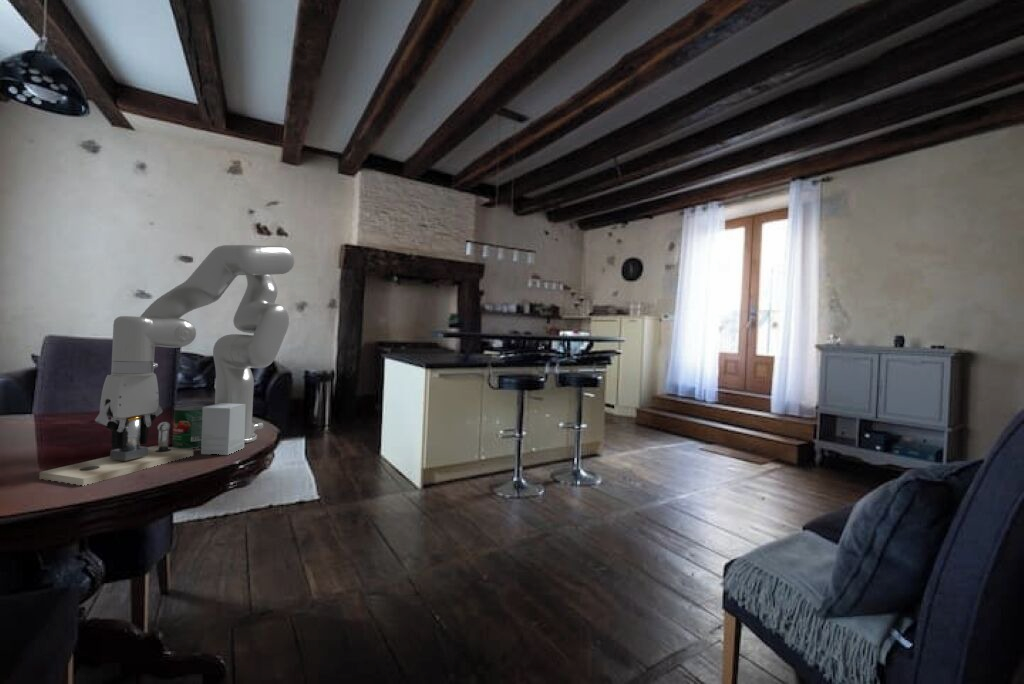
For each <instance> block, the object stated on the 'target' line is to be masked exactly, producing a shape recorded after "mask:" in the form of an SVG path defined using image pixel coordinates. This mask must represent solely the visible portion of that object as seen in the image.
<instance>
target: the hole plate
mask: <svg viewBox="0 0 1024 684" xmlns="http://www.w3.org/2000/svg"><path fill="white" fill-rule="evenodd" d="M147 447H148V455H147V456H143V457H139V458H135V459H131V460H127V461H122V460H114V459H110V455H108V456H104V457H100V458H96V459H92V460H86V461H82V462H79V463H74V464H70V465H65V466H61V467H60V466H59V467H57V468H52V469H48V470H43V471H39V480H41V479H44V480H43V481H48V480H51V481H50V482H54V481H58V482H57V483H61V482H65V483H64V484H67V483H70V484H69V485H73V484H76V485H75V486H80V485H82V486H81V487H85V486H88V485H87V484H89V485H92V483H93V484H96V483H99V481H100V482H104V481H106V480H110V479H114V478H118V477H121V476H125V475H129V474H133V473H136V472H139V471H143V469H144V470H147V469H150V468H153V467H154V466H155V467H158V466H161V464H162V465H165V464H168V462H169V463H172V462H171V461H173V462H176V461H179V459H180V460H184V459H187V458H190V456H191V457H193V456H194V449H181V448H173V447H172V446H168V450H167V451H158V445H153V446H152V445H151V446H147ZM186 457H187V458H186ZM183 458H184V459H183ZM175 460H176V461H175ZM157 465H158V466H157ZM146 468H147V469H146ZM103 480H104V481H103ZM84 485H85V486H84Z"/></svg>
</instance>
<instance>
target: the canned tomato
mask: <svg viewBox="0 0 1024 684" xmlns="http://www.w3.org/2000/svg"><path fill="white" fill-rule="evenodd" d="M206 406H209V405H206V404H186V405H178V406H175V407H174V408H173V411H174V412H173V427H172V428H173V429H172V431H173V432H172V446H171V447H173V448H181V449H189V450H194V449H193V448H196V449H200V448H199V447H201V440H202V407H206Z"/></svg>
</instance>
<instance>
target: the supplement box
mask: <svg viewBox="0 0 1024 684" xmlns="http://www.w3.org/2000/svg"><path fill="white" fill-rule="evenodd" d="M245 407H246V404H229V403H219V404H215V403H214V404H210V405H208V406H206V407H202V440H201V449H200V455H211V454H217V455H216V456H218V454H219V456H229V454H230V455H232V454H234V452H235V453H237V452H239V451H242V450H243V448H244V449H245V443H244V437H245ZM241 449H242V450H241ZM238 450H239V451H238ZM236 451H237V452H236ZM231 453H232V454H231Z"/></svg>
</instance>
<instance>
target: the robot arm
mask: <svg viewBox="0 0 1024 684" xmlns="http://www.w3.org/2000/svg"><path fill="white" fill-rule="evenodd" d="M294 264H295V258H294V254H293V253H292V252H291V250H289V249H288V248H287V247H285V246H281V245H250V244H226V245H220V246H219V245H218V246H217V247H215V248H213V250H211V251H210V252H209V254H208V255H207V256H206V257H205V258H204V259H203V261H202V262H201V263H200V264H199V265H198V267H196V269H195V270H194V271H193V272H192V274H191V275H190V276H189V277H188V278H187V279H186V280H184V282H182V283H181V284H177V286H175V287H174V288H172V289H170V290H169V291H167V292H165V293H164V294H162V295H161V296H160V297H158V298H157V299H155V300H154V301H153V302H152V303H151V304H149V306H147V308H146V309H145V310H144V311H143V312H142V314H141V315H140V316H132V315H131V316H130V315H129V316H128V315H124V316H123V315H121V316H118V317H116V318H114V320H113V325H112V326H113V329H112V347H111V349H112V351H111V372H110V373H111V374H107V375H106V377H105V379H104V383H103V387H102V389H101V397H100V403H99V413H98V415H97V416H96V418H95V419H94V421H95V423H98V424H100V425H103V426H104V427H105V428H107V429H108V431H110V432H111V448H112V449H124V448H125V447H126V431H123V430H124V426H125V422H126V418H130V417H136V416H141V431H140V445H146V444H148V438H149V437H148V436H149V435H148V434H149V427H151V426H152V423H153V422H154V420H155V419H156V418H157V417H159V415H161V414H162V413H163V409H162V407H161V406H160V404H159V403H160V402H159V398H160V397H159V396H160V395H159V385H158V384H159V383H158V377H157V374H156V373H154V371H155V369H157V368H158V366H159V365H158V363H157V362H155V351H156V350H155V349H156V347H163V348H173V349H175V348H182V347H186V346H188V345H190V344H191V343H193V341H194V340H195V338H196V336H197V331H196V330H197V329H196V328H195V326H194V325H193V324H192V323H191V322H189V321H188V320H186V319H183V318H181V317H183V316H184V315H186V314H188V313H189V312H192V311H193V310H197V309H200V308H204V307H207V306H209V305H211V304H213V303H215V302H217V301H218V300H220V299H221V297H222V296H223V294H224V293H225V292H226V291H227V289H228V288H229V286H230V285H231V284H232V283H233V281H235V279H236V278H237V277H238V276H245V277H246V282H247V285H246V286H247V287H246V289H245V290H244V294H243V296H242V298H241V300H240V302H239V305H238V307H237V309H236V311H235V313H234V316H233V325H234V327H235V328H236V329H237V331H239V332H242V333H246V334H239V333H238V334H237V333H235V334H233V333H231V334H226V335H223V336H221V337H220V338H218V339H217V340H216V341H215V343H214V345H213V348H212V354H213V355H212V356H213V357H212V358H213V362H214V368H215V391H214V392H215V393H214V394H215V396H214V404H219V403H229V404H246V407H245V437H244V444H248V443H252V442H254V441H256V440H257V439H258V434H256V433H255V432H256V430H260V429H263V428H264V423H263V422H257V423H255V422H253V407H254V404H253V403H254V386H255V384H254V383H255V381H254V379H255V378H254V375H253V372H252V369H264V368H268V367H269V366H270V365H271V364H272V363H274V361H275V360H276V357H277V356H278V353H279V352H280V349H281V346H282V343H283V342H284V339H285V336H286V334H287V332H288V329H289V325H290V316H289V314H288V313H289V312H288V311H287V310H286V308H285V307H284V306H282V305H281V304H278V303H275V302H276V299H277V297H278V288H277V287H278V286H277V283H276V282H275V280H274V278H273V275H284V274H287V273H289V272H291V270H292V269H293V267H294ZM252 334H253V335H252ZM109 418H111V419H109Z"/></svg>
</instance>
